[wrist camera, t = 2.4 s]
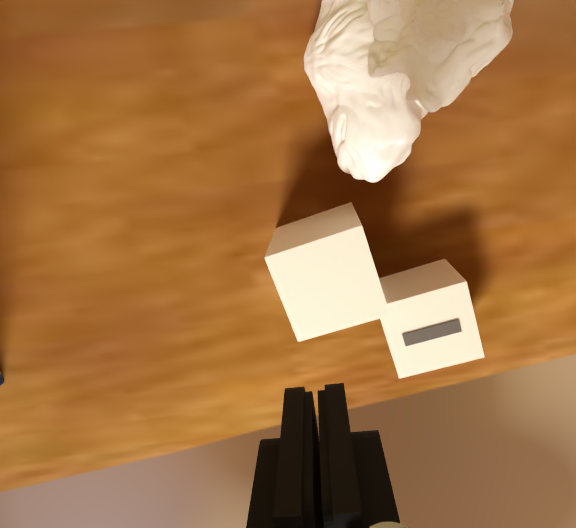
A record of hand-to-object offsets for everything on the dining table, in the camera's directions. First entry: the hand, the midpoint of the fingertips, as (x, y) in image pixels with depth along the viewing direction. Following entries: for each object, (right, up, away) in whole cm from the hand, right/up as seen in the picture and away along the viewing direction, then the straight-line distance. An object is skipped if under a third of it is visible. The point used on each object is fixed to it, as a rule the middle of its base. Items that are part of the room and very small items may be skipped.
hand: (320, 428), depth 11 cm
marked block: (+8, +2, +15) cm, 17 cm away
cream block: (+1, +5, +14) cm, 15 cm away
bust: (+4, +16, +11) cm, 19 cm away
